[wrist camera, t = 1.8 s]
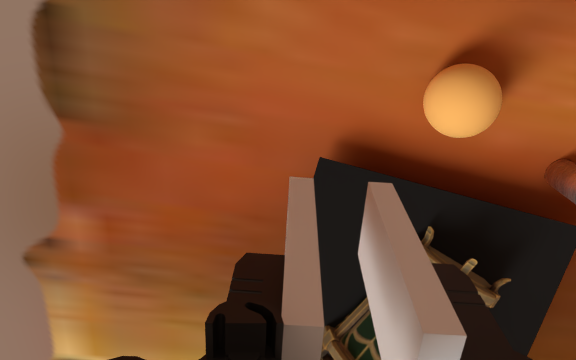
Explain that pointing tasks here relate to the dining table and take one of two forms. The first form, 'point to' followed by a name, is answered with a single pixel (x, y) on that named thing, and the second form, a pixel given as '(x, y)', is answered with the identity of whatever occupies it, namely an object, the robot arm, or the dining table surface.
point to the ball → (462, 100)
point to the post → (563, 178)
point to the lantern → (436, 256)
